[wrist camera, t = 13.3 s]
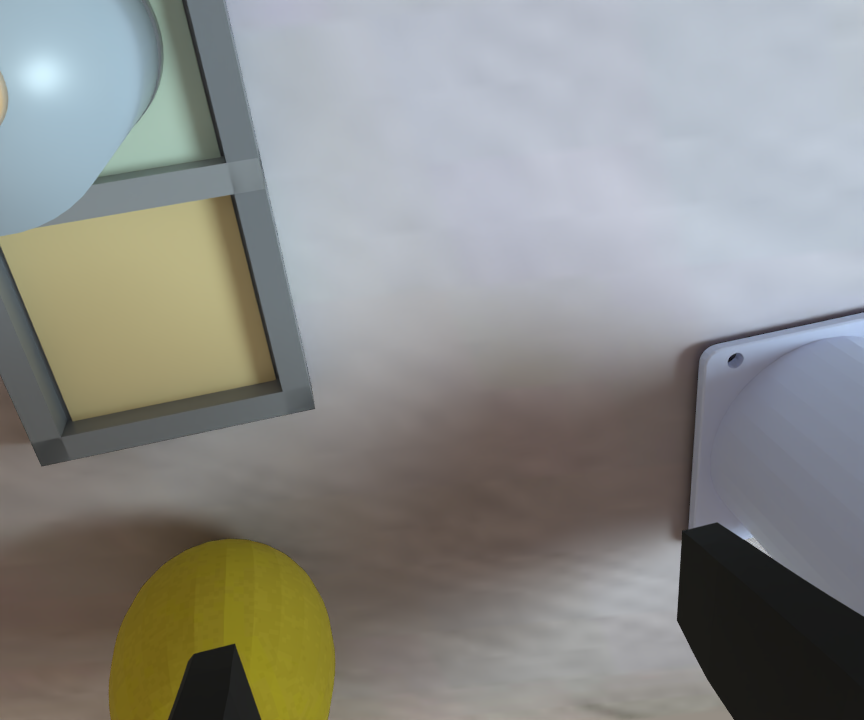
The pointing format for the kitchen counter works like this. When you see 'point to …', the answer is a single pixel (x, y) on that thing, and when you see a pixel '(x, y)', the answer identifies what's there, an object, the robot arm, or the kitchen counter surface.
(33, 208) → the cell
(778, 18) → the kitchen counter surface
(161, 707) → the lemon
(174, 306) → the checker tray
